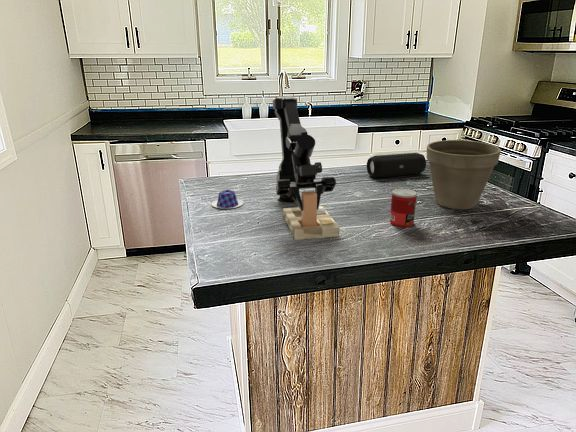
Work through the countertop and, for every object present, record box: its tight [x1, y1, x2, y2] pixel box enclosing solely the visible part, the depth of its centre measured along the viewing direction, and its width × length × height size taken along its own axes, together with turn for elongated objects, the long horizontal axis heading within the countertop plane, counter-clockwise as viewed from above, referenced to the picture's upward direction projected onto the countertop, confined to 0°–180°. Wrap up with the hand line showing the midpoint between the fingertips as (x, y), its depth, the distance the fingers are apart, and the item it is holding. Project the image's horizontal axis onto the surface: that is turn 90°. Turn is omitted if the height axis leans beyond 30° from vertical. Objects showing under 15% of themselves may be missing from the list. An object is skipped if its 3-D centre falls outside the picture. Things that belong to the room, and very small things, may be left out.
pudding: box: [211, 189, 245, 210], centre depth 168 cm, size 12×12×5 cm
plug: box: [300, 190, 317, 227], centre depth 141 cm, size 4×4×13 cm
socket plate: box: [282, 205, 341, 241], centre depth 147 cm, size 20×14×3 cm
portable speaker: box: [366, 152, 427, 179], centre depth 202 cm, size 26×10×10 cm, turn 105°
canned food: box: [389, 188, 418, 228], centre depth 148 cm, size 8×8×11 cm
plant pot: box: [426, 139, 502, 210], centre depth 164 cm, size 25×25×22 cm
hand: (310, 209), depth 139 cm, fingers open, 5 cm apart
